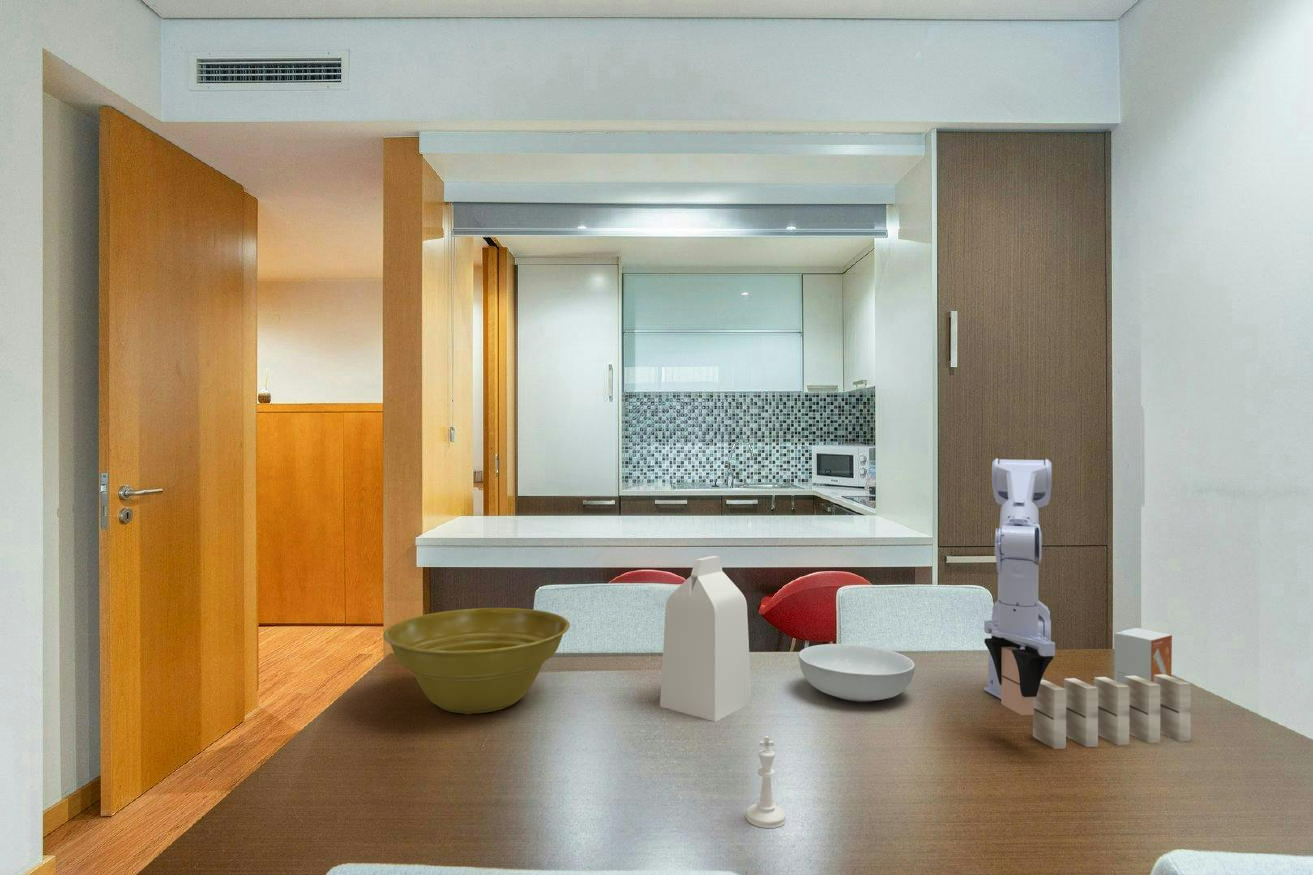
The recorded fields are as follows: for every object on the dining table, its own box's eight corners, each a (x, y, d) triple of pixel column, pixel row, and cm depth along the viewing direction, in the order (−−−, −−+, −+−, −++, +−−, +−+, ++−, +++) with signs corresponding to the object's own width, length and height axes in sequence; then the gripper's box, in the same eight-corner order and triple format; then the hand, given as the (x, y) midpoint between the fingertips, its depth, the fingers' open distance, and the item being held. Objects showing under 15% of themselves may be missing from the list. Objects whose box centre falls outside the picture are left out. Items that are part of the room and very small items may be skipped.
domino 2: (1063, 734, 121) (1063, 678, 121) (1074, 734, 121) (1075, 678, 121) (1086, 746, 116) (1086, 688, 116) (1097, 746, 116) (1098, 687, 116)
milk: (715, 721, 125) (716, 565, 125) (659, 706, 132) (661, 558, 132) (751, 702, 134) (752, 557, 135) (698, 689, 141) (699, 551, 142)
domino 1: (1032, 736, 120) (1032, 679, 120) (1044, 735, 120) (1044, 679, 120) (1054, 748, 115) (1054, 690, 115) (1066, 748, 115) (1066, 689, 115)
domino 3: (1094, 732, 122) (1094, 677, 122) (1105, 732, 122) (1105, 676, 122) (1117, 745, 117) (1117, 687, 117) (1129, 744, 117) (1129, 686, 117)
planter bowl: (341, 724, 122) (342, 641, 122) (443, 668, 153) (443, 602, 153) (525, 745, 114) (526, 656, 114) (593, 681, 145) (593, 612, 146)
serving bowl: (931, 715, 129) (931, 675, 129) (809, 712, 130) (809, 672, 130) (895, 677, 150) (895, 643, 150) (790, 676, 150) (790, 641, 151)
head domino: (1001, 703, 119) (1001, 647, 119) (1013, 703, 119) (1013, 646, 119) (1021, 715, 114) (1021, 655, 114) (1033, 714, 114) (1033, 655, 114)
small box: (1151, 715, 130) (1151, 639, 130) (1112, 704, 135) (1113, 632, 136) (1172, 706, 135) (1172, 634, 135) (1134, 696, 140) (1134, 626, 140)
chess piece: (742, 809, 95) (743, 729, 95) (780, 807, 95) (781, 728, 95) (750, 828, 90) (751, 745, 90) (790, 827, 90) (791, 744, 90)
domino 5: (1153, 729, 123) (1153, 674, 124) (1164, 728, 124) (1164, 674, 124) (1179, 741, 118) (1179, 684, 119) (1190, 740, 119) (1190, 683, 119)
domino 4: (1124, 731, 123) (1124, 676, 123) (1135, 730, 123) (1135, 675, 123) (1148, 743, 118) (1149, 685, 118) (1160, 742, 118) (1160, 685, 118)
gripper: (967, 594, 123) (967, 677, 123) (1024, 613, 109) (1024, 707, 109) (1006, 593, 125) (1006, 675, 124) (1068, 612, 110) (1067, 705, 110)
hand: (1017, 690), depth 117 cm, fingers closed on head domino, 5 cm apart
